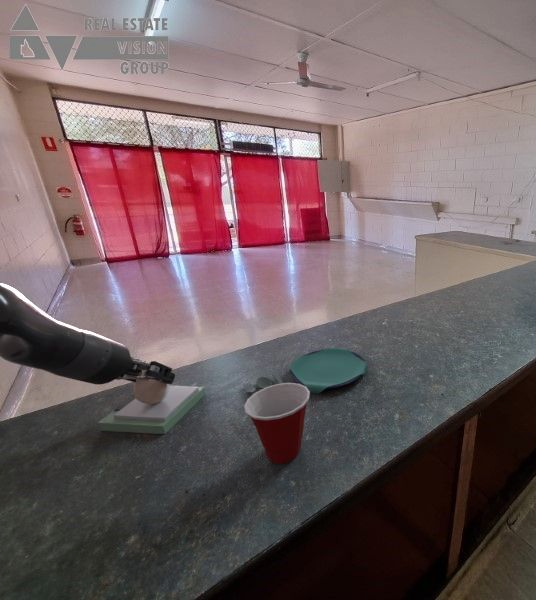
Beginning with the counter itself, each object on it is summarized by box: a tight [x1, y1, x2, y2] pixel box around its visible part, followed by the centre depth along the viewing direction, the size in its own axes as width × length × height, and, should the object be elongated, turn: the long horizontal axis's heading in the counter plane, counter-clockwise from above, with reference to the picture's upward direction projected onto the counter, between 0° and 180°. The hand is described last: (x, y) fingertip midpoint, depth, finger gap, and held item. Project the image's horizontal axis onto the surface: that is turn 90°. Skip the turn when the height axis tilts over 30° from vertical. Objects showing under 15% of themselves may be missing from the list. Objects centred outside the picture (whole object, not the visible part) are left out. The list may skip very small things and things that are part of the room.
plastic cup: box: [243, 382, 311, 465], centre depth 57 cm, size 11×11×12 cm
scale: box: [97, 384, 207, 435], centre depth 68 cm, size 13×13×3 cm
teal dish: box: [242, 347, 369, 397], centre depth 81 cm, size 20×30×2 cm, turn 130°
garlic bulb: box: [132, 371, 171, 404], centre depth 66 cm, size 7×6×8 cm
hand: (155, 378), depth 67 cm, fingers closed on garlic bulb, 6 cm apart
